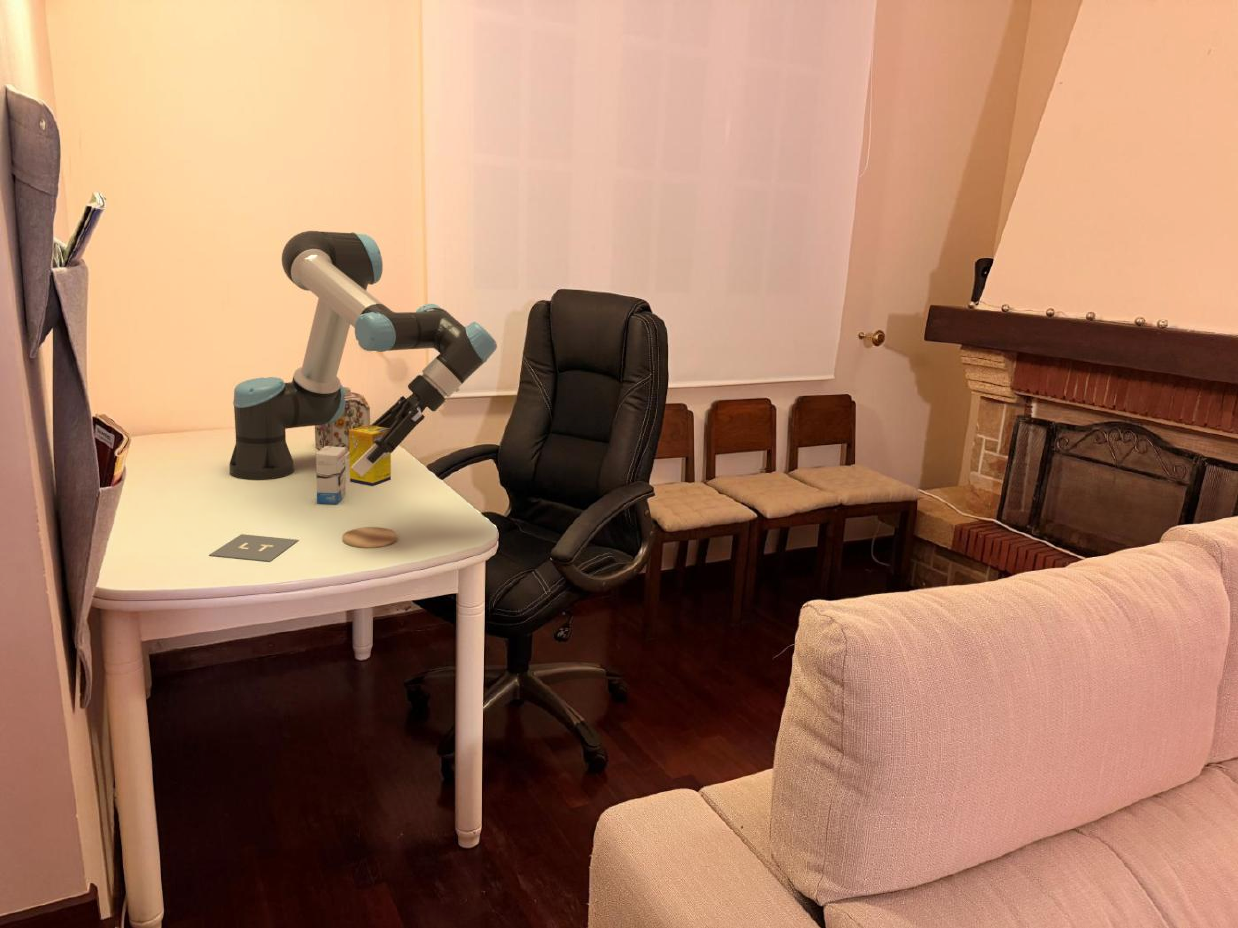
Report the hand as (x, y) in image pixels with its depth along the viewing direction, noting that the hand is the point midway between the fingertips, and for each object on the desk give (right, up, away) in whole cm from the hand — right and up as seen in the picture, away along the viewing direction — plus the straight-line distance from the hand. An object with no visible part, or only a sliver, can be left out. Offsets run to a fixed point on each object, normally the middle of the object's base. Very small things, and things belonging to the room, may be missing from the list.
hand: (353, 465), depth 173 cm
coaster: (+2, -15, +5) cm, 16 cm away
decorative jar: (-25, +4, +72) cm, 76 cm away
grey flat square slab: (-18, -16, -4) cm, 24 cm away
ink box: (-14, -8, +29) cm, 33 cm away
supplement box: (+3, -3, +2) cm, 5 cm away
